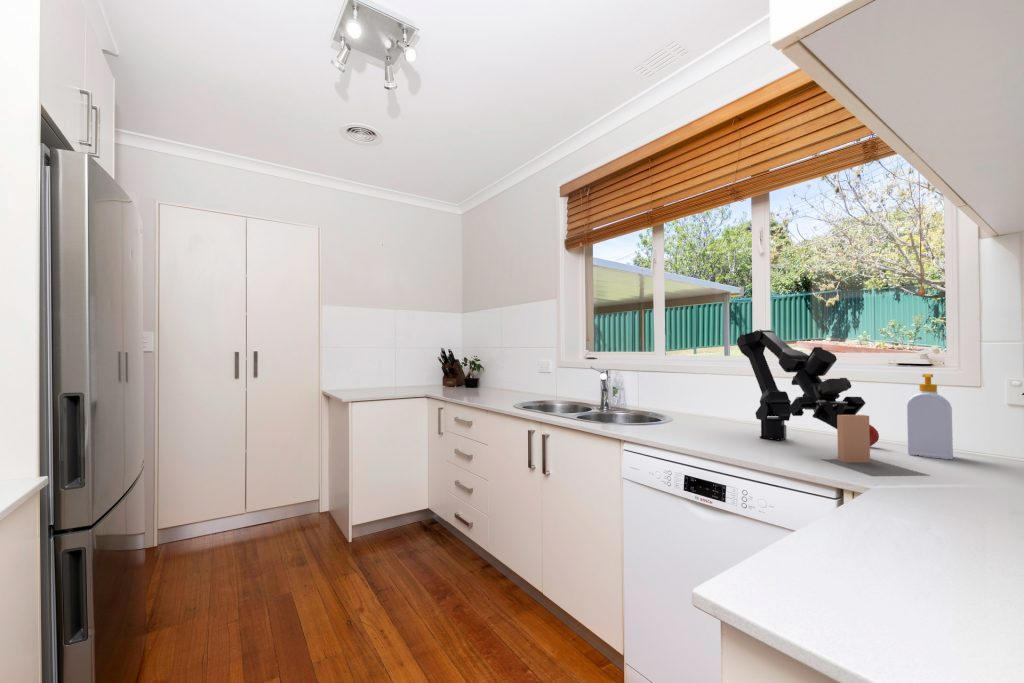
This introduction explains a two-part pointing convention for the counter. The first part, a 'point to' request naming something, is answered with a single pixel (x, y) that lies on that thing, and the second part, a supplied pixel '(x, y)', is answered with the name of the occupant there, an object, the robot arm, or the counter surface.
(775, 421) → the robot arm
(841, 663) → the counter surface
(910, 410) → the soap bottle
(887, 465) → the charcoal mat
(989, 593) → the counter surface
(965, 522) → the counter surface
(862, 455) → the terracotta block
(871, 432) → the onion
